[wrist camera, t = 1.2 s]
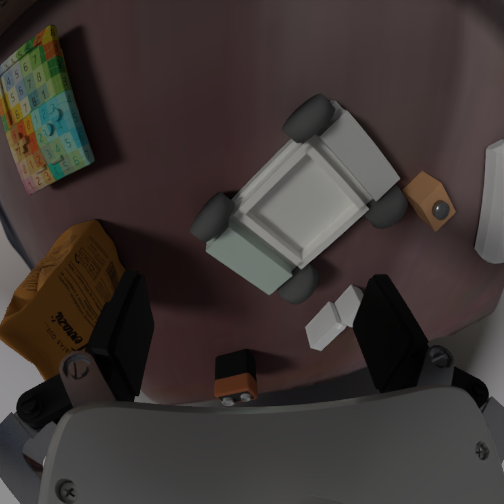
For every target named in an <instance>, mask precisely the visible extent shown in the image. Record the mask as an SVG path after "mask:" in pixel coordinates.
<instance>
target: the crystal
mask: <svg viewBox="0 0 504 504" xmlns="http://www.w3.org/2000/svg"><path fill="white" fill-rule="evenodd" d="M495 167H496V168H495ZM491 205H492V206H491ZM489 218H490V219H489ZM484 244H485V245H484ZM474 249H475V250H476V251H477V253H478V254H479V255H480V256H481V258H483V259H484V260H486V261H487V262H489V263H494V264H496V263H504V139H502V140H500V141H497V142H495V143H493V144H491V145H489V146H488V147H487V149H486V162H485V178H484V190H483V199H482V207H481V214H480V221H479V227H478V233H477V238H476V243H475V248H474Z"/></svg>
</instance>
